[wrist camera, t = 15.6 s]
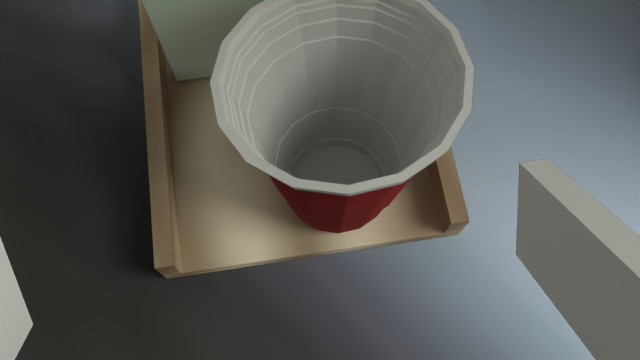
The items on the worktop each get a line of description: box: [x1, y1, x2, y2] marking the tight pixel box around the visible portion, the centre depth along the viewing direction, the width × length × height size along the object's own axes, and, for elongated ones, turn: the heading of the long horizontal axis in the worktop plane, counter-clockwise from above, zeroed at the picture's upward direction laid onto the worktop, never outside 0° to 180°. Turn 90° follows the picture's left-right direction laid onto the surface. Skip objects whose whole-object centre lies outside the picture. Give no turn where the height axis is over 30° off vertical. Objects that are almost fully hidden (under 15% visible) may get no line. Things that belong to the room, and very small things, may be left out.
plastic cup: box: [210, 0, 474, 233], centre depth 30 cm, size 11×11×12 cm
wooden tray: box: [138, 0, 469, 279], centre depth 35 cm, size 17×19×8 cm
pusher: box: [142, 0, 265, 81], centre depth 34 cm, size 14×1×8 cm, turn 99°
